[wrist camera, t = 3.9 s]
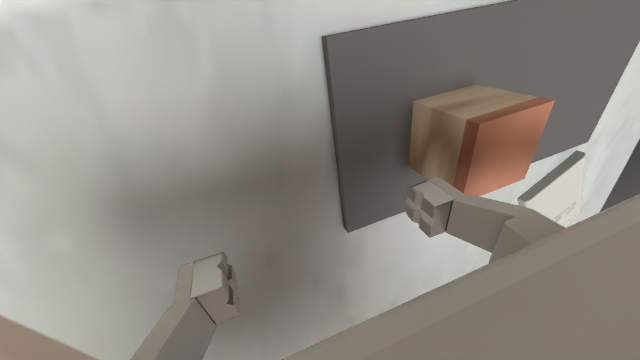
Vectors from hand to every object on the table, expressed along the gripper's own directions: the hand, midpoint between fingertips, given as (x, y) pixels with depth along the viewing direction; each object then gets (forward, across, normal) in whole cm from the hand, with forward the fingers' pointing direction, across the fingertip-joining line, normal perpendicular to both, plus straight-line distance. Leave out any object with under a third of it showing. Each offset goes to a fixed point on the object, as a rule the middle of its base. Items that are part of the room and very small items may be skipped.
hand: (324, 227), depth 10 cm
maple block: (+6, +11, 0) cm, 13 cm away
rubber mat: (+6, +17, 0) cm, 18 cm away
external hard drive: (+7, +31, -16) cm, 36 cm away
